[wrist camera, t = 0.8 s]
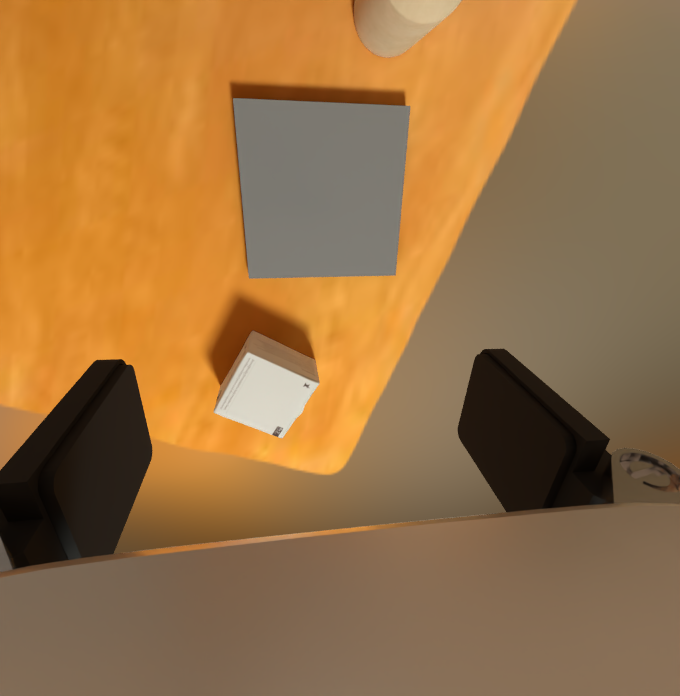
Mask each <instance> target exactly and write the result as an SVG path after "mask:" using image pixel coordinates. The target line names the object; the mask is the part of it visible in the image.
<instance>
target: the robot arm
mask: <svg viewBox="0 0 680 696" xmlns="http://www.w3.org/2000/svg"><path fill="white" fill-rule="evenodd" d="M458 435H459V438H460V440H461V442H462V443H463V445H464V447H465V448H466V449H467V451H468V453H469V454H470V456H471V457H472V459H473V460H474V462H475V463H476V465H477V467H478V468H479V470H480V471H481V473H482V474H483V476H484V478H485V479H486V481H487V482H488V484H489V485H490V487H491V489H492V490H493V492H494V493H495V495H496V496H497V498H498V499H499V501H500V502H501V504H502V506H503V507H504V509H505V510H506V512H505V513H495V514H484V515H474V516H464V517H454V518H443V519H433V520H424V521H413V522H403V523H394V524H383V525H373V526H364V527H354V528H344V529H336V530H325V531H316V532H306V533H297V534H287V535H278V536H270V537H259V538H250V539H242V540H232V541H222V542H213V543H204V544H195V545H186V546H176V547H167V548H160V549H151V550H142V551H134V552H126V553H118V554H113V553H114V551H115V548H116V546H117V543H118V541H119V538H120V535H121V533H122V531H123V528H124V526H125V524H126V521H127V519H128V516H129V513H130V511H131V509H132V506H133V504H134V501H135V498H136V496H137V494H138V491H139V489H140V486H141V483H142V481H143V479H144V476H145V473H146V471H147V469H148V466H149V464H150V461H151V457H152V444H151V440H150V436H149V431H148V427H147V423H146V419H145V414H144V410H143V406H142V401H141V397H140V393H139V389H138V384H137V380H136V376H135V371H134V368H133V366H132V365H126V363H125V362H124V361H123V360H122V359H118V360H96V361H95V362H94V363H93V364H92V365H91V366H90V367H89V368H88V369H87V371H86V372H85V373H84V374H83V375H82V376H81V378H80V379H79V380H78V381H77V382H76V383H75V385H74V386H73V387H72V388H71V389H70V390H69V391H68V393H67V394H66V395H65V396H64V397H63V398H62V400H61V401H60V402H59V403H58V404H57V405H56V407H55V408H54V409H53V410H52V411H51V412H50V414H49V415H48V416H47V417H46V418H45V420H43V422H42V423H41V424H40V425H39V426H38V428H37V429H36V430H35V431H34V432H33V433H32V435H31V436H30V437H29V438H28V439H27V440H26V441H25V443H24V444H23V445H22V446H21V447H20V448H19V449H18V451H17V452H16V453H15V454H14V455H13V456H12V458H11V459H10V460H9V461H8V462H7V463H6V465H5V466H4V467H3V468H2V469H1V470H0V696H680V469H678V468H677V467H675V466H674V465H673V464H672V463H670V462H668V461H666V460H664V459H662V458H661V457H659V456H656V455H654V454H651V453H649V452H646V451H642V450H638V449H631V448H622V449H617V450H616V451H614V452H613V453H612V455H610V454H609V453H608V452H607V451H606V450H605V449H606V447H607V445H608V442H609V440H610V439H609V438H608V437H607V436H606V435H605V434H603V433H602V432H601V431H600V430H599V429H598V428H596V427H595V426H594V425H593V424H592V423H591V422H589V421H588V420H587V419H586V418H585V417H583V416H582V415H581V414H580V413H579V412H578V411H577V410H575V409H574V408H573V407H572V406H571V405H570V404H568V403H567V402H566V401H565V400H564V399H562V398H561V397H560V396H559V395H558V394H557V393H556V392H554V391H553V390H552V389H551V388H550V387H549V386H547V385H546V384H545V383H544V382H543V381H542V380H540V379H539V378H538V377H537V376H536V375H535V374H533V373H532V372H531V371H530V370H529V369H528V368H526V367H525V366H524V365H523V364H522V363H521V362H519V361H518V360H517V359H516V358H515V357H514V356H512V355H511V354H510V353H509V352H508V351H507V350H505V349H484V350H483V351H482V352H481V353H480V354H478V355H477V356H476V357H475V360H474V364H473V368H472V372H471V376H470V380H469V385H468V388H467V393H466V396H465V401H464V405H463V409H462V413H461V417H460V421H459V425H458Z"/></svg>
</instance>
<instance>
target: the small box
mask: <svg viewBox="0 0 680 696" xmlns="http://www.w3.org/2000/svg"><path fill="white" fill-rule="evenodd" d="M318 385H319V377H318V372H317V366H316V361H315V359H312V358H310V357H308V356H306V355H304V354H302V353H299V352H297V351H295V350H293V349H291V348H289V347H287V346H285V345H283V344H281V343H279V342H277V341H274V340H272V339H270V338H268V337H266V336H264V335H262V334H260V333H258V332H256V331H251V333H250V335H249V337H248V338H247V340H246V342H245V344H244V346H243V348H242V349H241V351H240V353H239V355H238V357H237V358H236V360H235V362H234V364H233V366H232V367H231V369H230V371H229V373H228V374H227V376H226V378H225V379H224V381H223V383H222V384H221V386H220V390H219V394H218V397H217V402H216V405H215V409H214V413H216V414H218V415H221V416H223V417H226V418H228V419H231V420H234V421H237V422H239V423H242V424H245V425H247V426H250V427H253V428H256V429H258V430H261V431H263V432H266V433H268V434H271V435H274V436H277V437H279V438H283V437H284V435H285V434H286V432H287V431H288V430H289V428H290V427H291V425H292V424H293V422H294V421H295V419H296V418H297V417H298V416H299V415H300V414H301V413H302V412H303V409H304V406H305V404H306V403H307V401H308V400H309V398H310V397H311V395H312V394H313V392H314V391H315V389H316V388H317V386H318Z"/></svg>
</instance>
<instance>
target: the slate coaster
mask: <svg viewBox="0 0 680 696" xmlns="http://www.w3.org/2000/svg"><path fill="white" fill-rule="evenodd" d="M233 105H234V116H235V127H236V138H237V149H238V161H239V172H240V183H241V194H242V205H243V217H244V228H245V239H246V250H247V261H248V273H249V278H293V277H341V276H388V275H396V264H397V252H398V241H399V229H400V218H401V206H402V195H403V184H404V172H405V161H406V149H407V138H408V126H409V115H410V106H397V105H375V104H354V103H332V102H310V101H288V100H266V99H244V98H233Z"/></svg>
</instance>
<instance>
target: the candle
mask: <svg viewBox="0 0 680 696" xmlns="http://www.w3.org/2000/svg"><path fill="white" fill-rule="evenodd" d="M461 1H462V0H355V2H354V23H355V27H356V31H357V33H358V36H359V38H360V40H361V41H362V43H363V44H364V46H365V47H366V48H367V49H368V50H369V51H371V52H372V53H373V54H375V55H377V56H380V57H395V56H398V55H400V54H402V53H404V52H405V51H407V50H408V49H409V48H411V47H412V46H413V45H414V44H416V43H417V42H418V41H419V40H420V39H421V38H423V37H424V36H425V35H426V34H427V33H428V32H430V31H431V30H432V29H433V28H434V27H436V26H437V25H438V24H439V23H440V22H441V21H443V20H444V19H445V18H446V17H447V16H448V15H450V14H451V13H452V12H453V11H454V10H455V9H456V7H457V6H458V5H459V4H460V2H461Z"/></svg>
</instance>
